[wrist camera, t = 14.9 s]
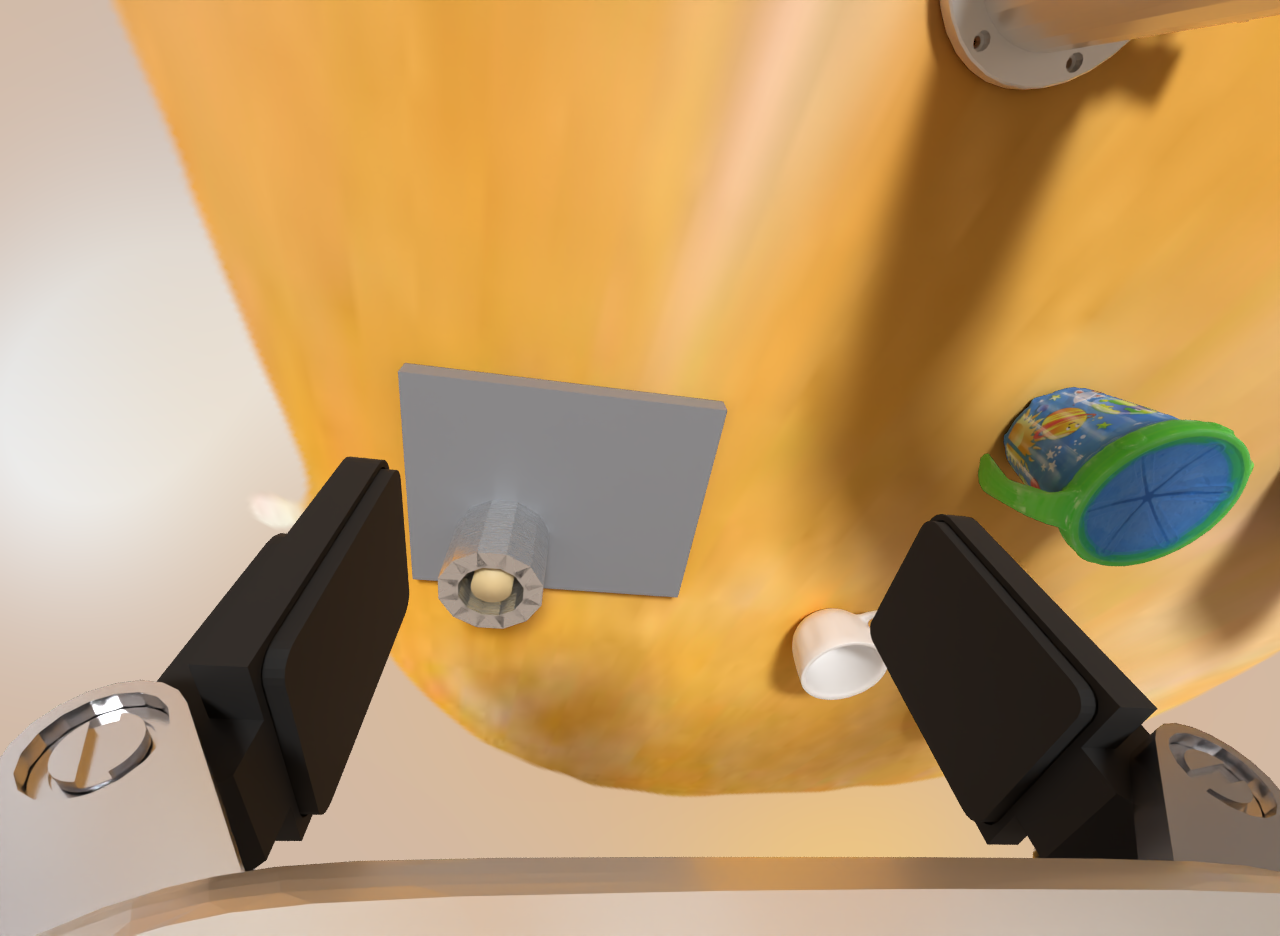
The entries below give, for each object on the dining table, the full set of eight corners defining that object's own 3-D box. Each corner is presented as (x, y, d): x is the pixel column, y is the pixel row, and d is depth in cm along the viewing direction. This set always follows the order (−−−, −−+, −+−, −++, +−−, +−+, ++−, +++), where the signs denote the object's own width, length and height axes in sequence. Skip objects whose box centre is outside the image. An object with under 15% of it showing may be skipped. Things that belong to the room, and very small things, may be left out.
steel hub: (552, 504, 42) (545, 557, 37) (545, 574, 45) (539, 630, 40) (456, 496, 41) (436, 549, 36) (457, 567, 44) (439, 624, 39)
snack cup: (932, 490, 45) (1011, 575, 37) (970, 369, 40) (1073, 436, 31) (1114, 480, 46) (1233, 561, 37) (1176, 360, 40) (1333, 423, 32)
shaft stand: (723, 401, 40) (745, 449, 34) (675, 585, 49) (686, 648, 43) (404, 363, 37) (367, 408, 31) (417, 566, 46) (391, 631, 40)
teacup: (813, 663, 56) (833, 710, 51) (767, 629, 53) (783, 676, 48) (897, 609, 53) (926, 655, 48) (853, 569, 50) (879, 614, 45)
